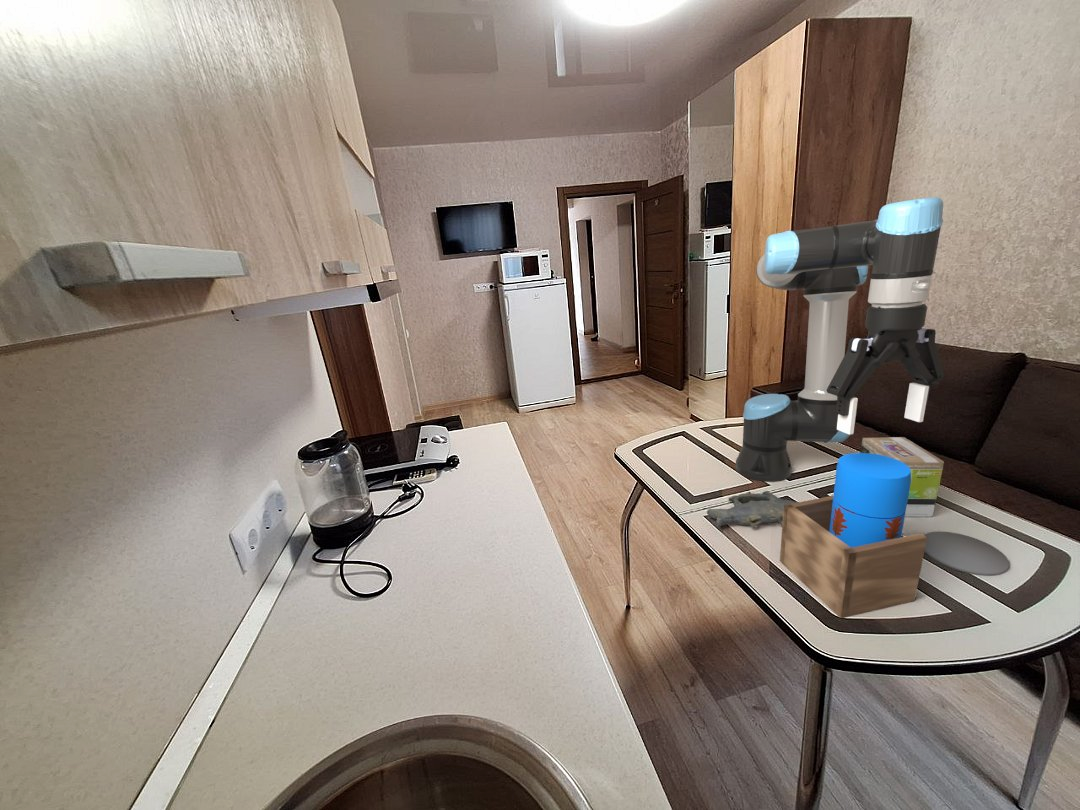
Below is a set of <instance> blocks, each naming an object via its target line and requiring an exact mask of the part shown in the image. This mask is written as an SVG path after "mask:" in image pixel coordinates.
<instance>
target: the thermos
mask: <svg viewBox="0 0 1080 810" xmlns="http://www.w3.org/2000/svg"><path fill="white" fill-rule="evenodd" d="M910 484H911V470H910V468H909V467H908V466H907V465H906V464H905V463H903V462H901V461H899V460H896V459H894V458H890V457H887V456H883V455H877V454H871V453H861V452H853V453H847V454H843V455H842V456H840V457H839V458H838V460H837V464H836V470H835V481H834V485H833V486H834V487H833V495H832V496H833V504H832V512H831V521H830V530H829V532H830V533H831V534H833V535H834V536H836V537H837V538H838V539H840V540H841V541H843V542H844V543H845V544H847V545H848V546H849V547H851V548H852V547H857V546H862V545H867V544H872V543H876V542H881V541H886V540H891V539H896V538H900V537H902V535H903V529H904V523H905V518H906V517H905V513H906V512H905V511H906V507H907V501H908V496H909V490H910Z"/></svg>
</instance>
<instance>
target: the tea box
mask: <svg viewBox="0 0 1080 810" xmlns="http://www.w3.org/2000/svg"><path fill="white" fill-rule="evenodd" d="M861 441H862V442H861V447H860V453H871V454H877V455H883V456H887V457H890V458H894V459H896V460H899V461H901V462H903V463H905V464H906V465H907V466H908V467H909V468H910V470H911V484H910V490H909V496H908V501H907V507H906V511H905V512H906V513H905V518H906V517H908V518H910V517H912V518H932V517H933V516H934V511H935V507H936V502H937V498H938V494H939V489H940V484H941V479H942V474H943V470H944V463H945V462H944V460H942V459H941V458H939V457H937V456H936V455H934V454H932V453H931V452H929V451H928V450H926V449H924V448H923V447H921V446H919V445H918V444H916V443H914V442H913V441H911V440H910V439H907V438H906V437H904V436H899V437H897V436H896V437H895V436H893V437H890V436H889V437H888V436H887V437H862V440H861Z"/></svg>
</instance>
